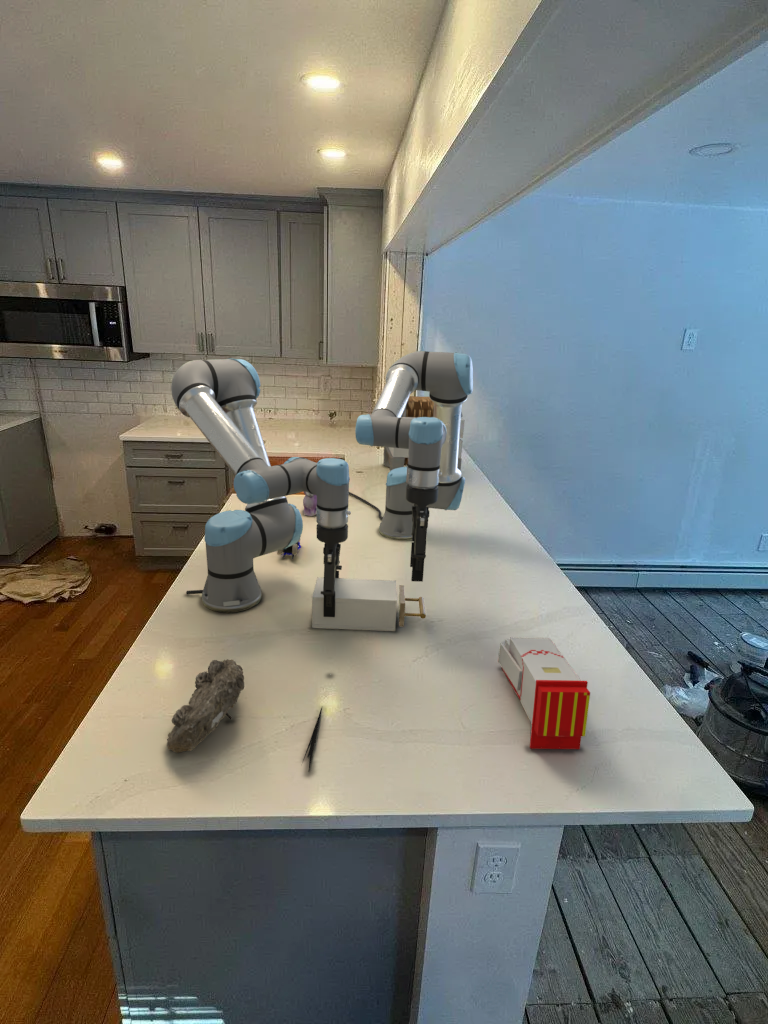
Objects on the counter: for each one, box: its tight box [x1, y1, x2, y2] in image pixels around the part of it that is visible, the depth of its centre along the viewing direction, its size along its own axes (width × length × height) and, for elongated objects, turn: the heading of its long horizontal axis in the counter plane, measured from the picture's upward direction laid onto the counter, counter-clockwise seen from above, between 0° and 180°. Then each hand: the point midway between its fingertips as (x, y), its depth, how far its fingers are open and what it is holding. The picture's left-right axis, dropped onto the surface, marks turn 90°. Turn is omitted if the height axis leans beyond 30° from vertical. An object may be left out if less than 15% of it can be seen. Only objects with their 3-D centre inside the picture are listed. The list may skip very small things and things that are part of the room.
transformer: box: [383, 395, 465, 472], centre depth 268 cm, size 34×33×41 cm
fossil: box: [166, 658, 245, 754], centre depth 106 cm, size 22×10×15 cm
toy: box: [497, 636, 591, 750], centre depth 115 cm, size 12×13×30 cm
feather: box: [301, 673, 332, 771], centre depth 108 cm, size 2×28×2 cm
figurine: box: [302, 492, 317, 517], centre depth 214 cm, size 9×10×15 cm
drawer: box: [397, 584, 427, 628], centre depth 143 cm, size 24×10×6 cm, turn 90°
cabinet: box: [311, 576, 398, 632], centre depth 143 cm, size 20×11×8 cm, turn 90°
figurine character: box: [276, 538, 302, 560], centre depth 180 cm, size 7×8×15 cm
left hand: (331, 604), depth 143 cm, fingers closed on cabinet, 11 cm apart
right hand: (416, 573), depth 140 cm, fingers open, 7 cm apart
